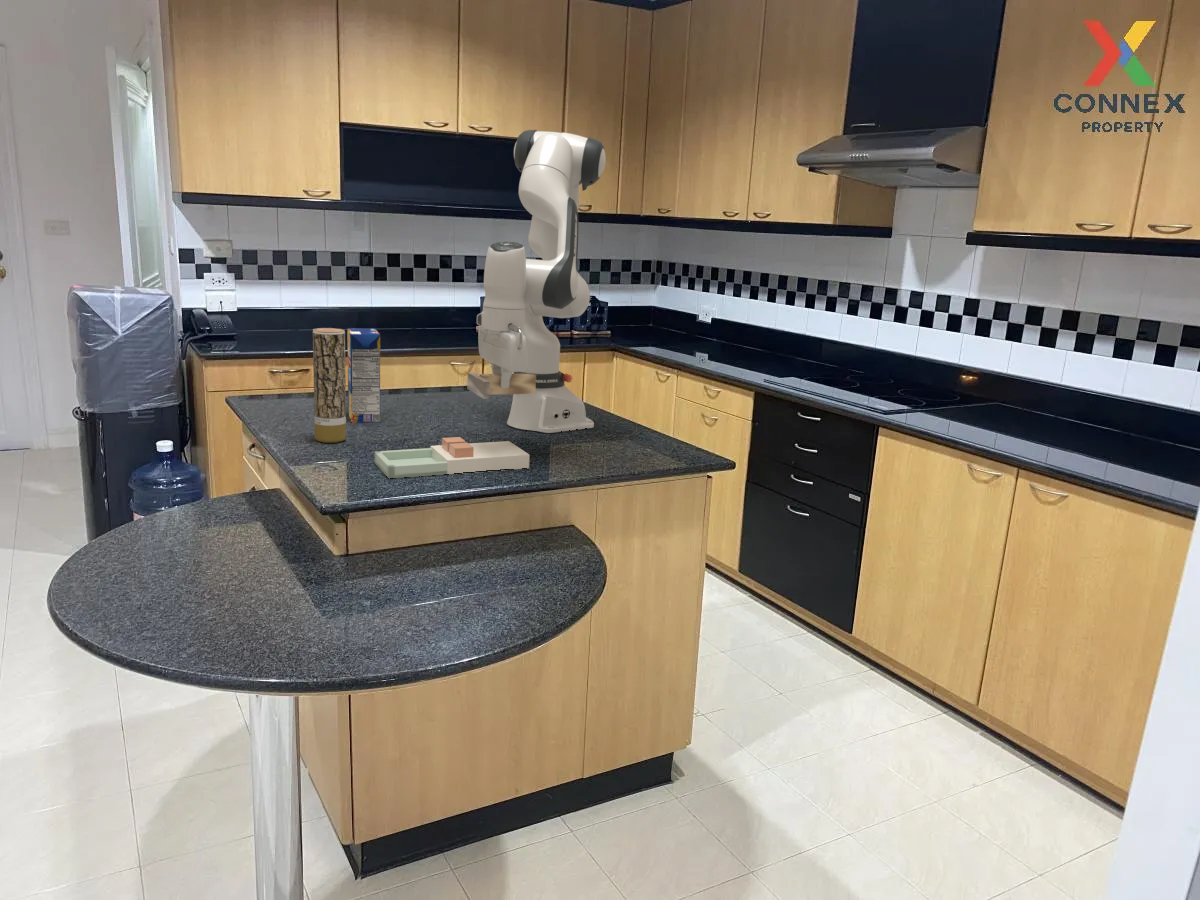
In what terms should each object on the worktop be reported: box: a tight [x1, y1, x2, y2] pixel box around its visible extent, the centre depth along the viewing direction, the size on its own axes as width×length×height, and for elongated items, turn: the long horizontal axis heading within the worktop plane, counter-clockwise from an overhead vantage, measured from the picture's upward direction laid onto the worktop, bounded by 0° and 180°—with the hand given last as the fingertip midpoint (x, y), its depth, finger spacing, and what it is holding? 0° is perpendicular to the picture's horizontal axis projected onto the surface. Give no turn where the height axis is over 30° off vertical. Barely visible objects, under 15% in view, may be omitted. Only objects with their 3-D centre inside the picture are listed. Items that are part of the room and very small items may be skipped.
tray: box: [373, 447, 448, 480], centre depth 183 cm, size 12×12×2 cm
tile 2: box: [449, 442, 474, 458], centre depth 185 cm, size 4×4×2 cm
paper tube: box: [312, 327, 347, 444], centre depth 199 cm, size 7×7×25 cm
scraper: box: [466, 372, 536, 400], centre depth 191 cm, size 13×11×4 cm
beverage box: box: [346, 327, 381, 424], centre depth 222 cm, size 7×11×22 cm, turn 20°
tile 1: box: [441, 436, 467, 452], centre depth 189 cm, size 4×4×2 cm
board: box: [429, 440, 530, 475], centre depth 190 cm, size 18×12×3 cm, turn 117°
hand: (500, 385), depth 190 cm, fingers closed on scraper, 2 cm apart
